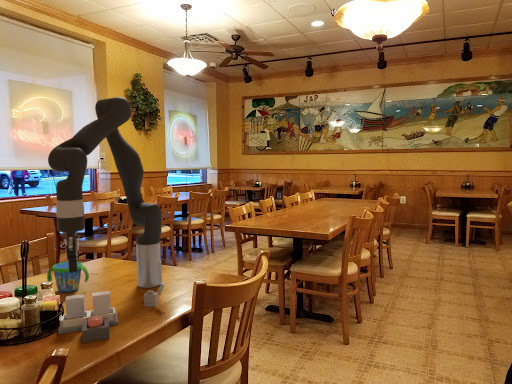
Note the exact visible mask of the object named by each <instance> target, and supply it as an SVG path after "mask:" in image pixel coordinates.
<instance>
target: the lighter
mask: <svg viewBox="0 0 512 384" xmlns="http://www.w3.org/2000/svg"><path fill="white" fill-rule="evenodd" d="M165 285H166V283H165V282H163V281H162V283H161V285H159V287H158V289H157V291H156V292H154V290H153V289H152V290H147V291H146V292H144V294H143V300H144V301H143V302H144V307H145V308H149V307H158V296H161V294H162V292H163V290H164V287H165Z"/></svg>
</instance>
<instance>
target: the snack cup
mask: <svg viewBox="0 0 512 384" xmlns="http://www.w3.org/2000/svg"><path fill="white" fill-rule="evenodd" d="M82 271H83V273H84V275H85V276H84V282H85V283H87V282H88V281H89V279H90V275H89V272H88V269H87V268H86V266H84V265H83V262H80V261H77V272H69V261H63V262H58V263H56V264H54V265H52V266H51V267H50V268H49V269H48V271H47V274H46V275H47V276H46V280H47V281H48V282H52V280H53V276H52V272H53V274H54V280H55V283H56V284H55V285H56V289H57V291H58V292H59V293H71V292H76V291H77V290H79V288H80V284H81V275H82Z"/></svg>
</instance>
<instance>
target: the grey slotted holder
mask: <svg viewBox="0 0 512 384" xmlns="http://www.w3.org/2000/svg"><path fill="white" fill-rule="evenodd" d="M94 316H102V317H103V318H108V320H109V327H110V326H111V327H112V326H117V325H119V319H118V313H117V310H116V307H115V306H112V307H111V291H110V290H107V291H98V292H92V309H91V310H85V317H83V318H76V319H70V320H67V319H66V313H64V314H63V316H62V315H61V317H60V322H59V325H60V326H59V325H58V330H57V331H58V335H62V334H67V333H68V332H69V333H73V332H79V331H81V332H82V325H83V321H88V319H89V318H91V317H94ZM69 333H68V334H69Z"/></svg>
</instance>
